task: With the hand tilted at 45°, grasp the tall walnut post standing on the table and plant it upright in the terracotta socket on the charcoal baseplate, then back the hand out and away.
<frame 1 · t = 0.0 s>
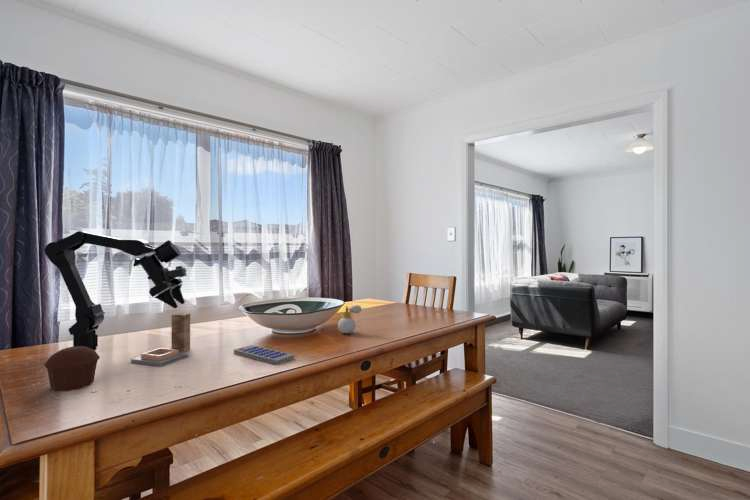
hand: (180, 305, 143), 15 cm above the table, tool tilted 35°, fingers open, 9 cm apart
muffin: (73, 386, 103), on the table
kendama: (181, 336, 159), on the table
remote control: (263, 357, 132), on the table
walnut post: (180, 350, 137), on the table
perfume bottle: (348, 333, 167), on the table
baseplate: (160, 359, 127), on the table
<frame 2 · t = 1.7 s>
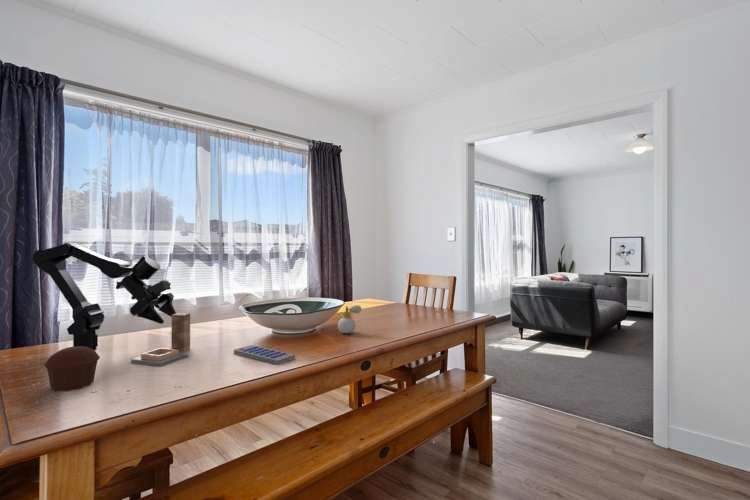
hand: (170, 320, 137), 11 cm above the table, tool tilted 45°, fingers open, 9 cm apart
nothing on the table moved.
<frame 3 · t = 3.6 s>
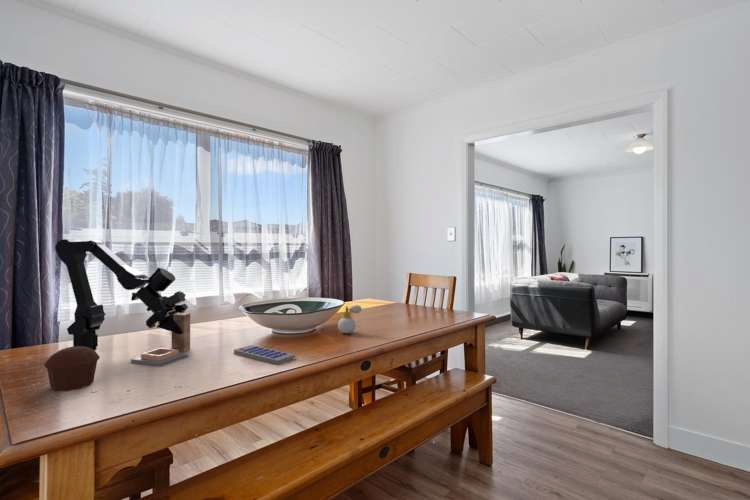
hand: (184, 331, 137), 7 cm above the table, tool tilted 45°, fingers closed on walnut post, 4 cm apart
walnut post: (180, 350, 137), on the table, touching gripper
everything else where it was.
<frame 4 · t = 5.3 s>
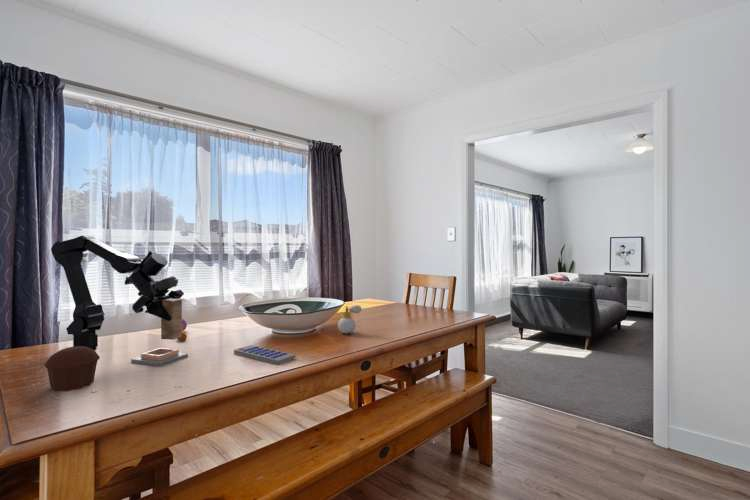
hand: (175, 318, 131), 12 cm above the table, tool tilted 45°, fingers closed on walnut post, 4 cm apart
walnut post: (171, 337, 131), point 6 cm above the table, touching gripper
everything else where it was.
when the fingers open (8 cm above the table, at t = 7.0 s): walnut post stays where it is, resting on baseplate.
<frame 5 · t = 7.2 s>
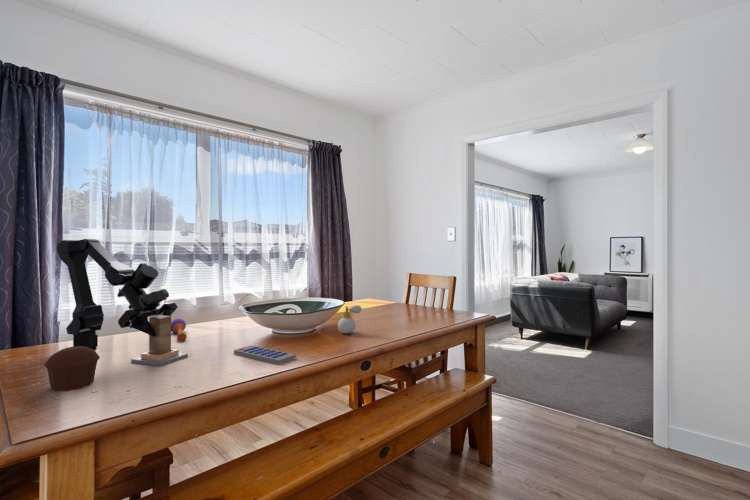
hand: (163, 333, 126), 9 cm above the table, tool tilted 45°, fingers open, 6 cm apart
walnut post: (160, 356, 127), point 1 cm above the table, touching baseplate
everything else where it was.
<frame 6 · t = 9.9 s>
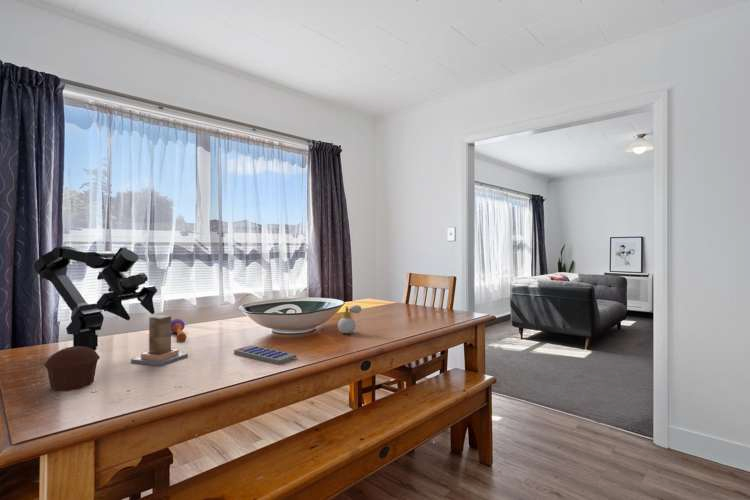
hand: (141, 316, 130), 13 cm above the table, tool tilted 45°, fingers open, 9 cm apart
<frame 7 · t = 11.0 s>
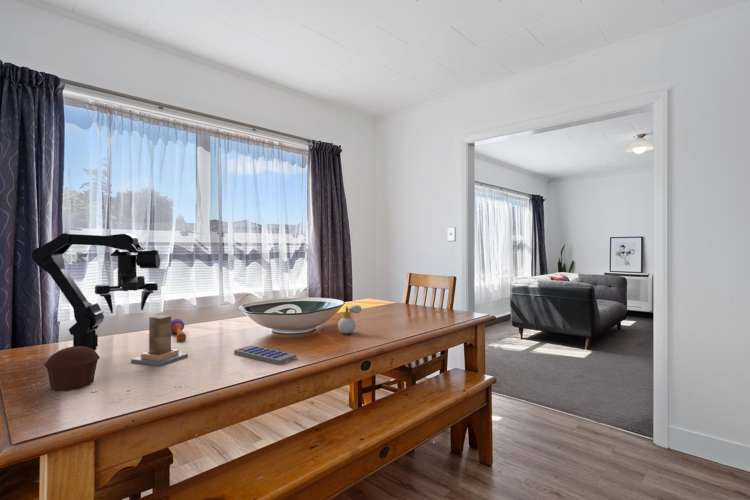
hand: (127, 311, 140), 13 cm above the table, tool pointing down, fingers open, 9 cm apart
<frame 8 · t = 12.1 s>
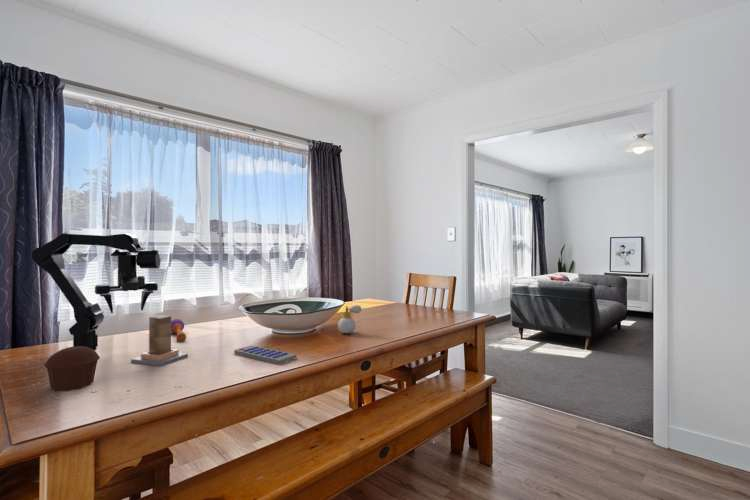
hand: (127, 311, 140), 13 cm above the table, tool pointing down, fingers open, 9 cm apart
at the end: walnut post 0.0 cm off-centre on the baseplate, point 1.0 cm above the baseplate's base; walnut post tilted 0°; the gripper is holding nothing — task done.
